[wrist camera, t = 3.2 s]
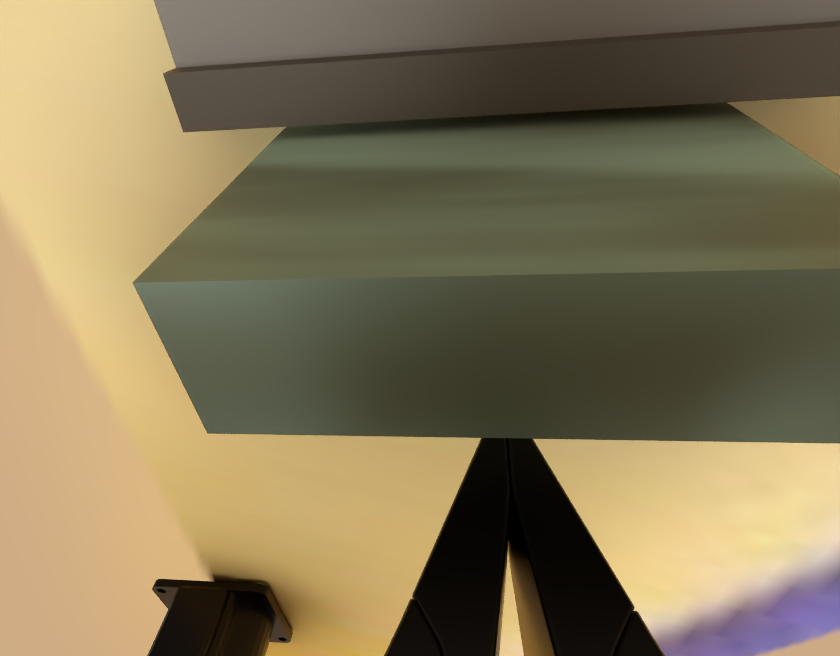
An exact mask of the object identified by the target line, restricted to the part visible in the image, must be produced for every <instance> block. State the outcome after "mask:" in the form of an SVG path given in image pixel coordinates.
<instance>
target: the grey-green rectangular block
mask: <svg viewBox="0 0 840 656" xmlns="http://www.w3.org/2000/svg"><path fill="white" fill-rule="evenodd" d="M133 284H134V286H135V288H136V290H137V292H138V294H139V296H140V298H141V300H142V302H143V304H144V306H145V308H146V310H147V312H148V314H149V316H150V319H151V321H152V323H153V325H154V327H155V329H156V331H157V333H158V335H159V337H160V339H161V341H162V343H163V345H164V347H165V349H166V351H167V353H168V355H169V357H170V359H171V361H172V363H173V365H174V367H175V369H176V371H177V373H178V375H179V377H180V379H181V381H182V383H183V385H184V387H185V389H186V391H187V393H188V395H189V397H190V399H191V401H192V403H193V405H194V407H195V409H196V411H197V413H198V415H199V417H200V419H201V421H202V423H203V425H204V427H205V429H206V431H207V433H213V434H277V435H341V436H404V437H468V438H531V439H595V440H658V441H722V442H786V443H840V176H838V175H837V174H835V173H834V172H832V171H830V170H829V169H827V168H826V167H824V166H823V165H821V164H820V163H818V162H817V161H815V160H814V159H812V158H811V157H809V156H808V155H806V154H804V153H803V152H801V151H800V150H798V149H797V148H795V147H794V146H792V145H791V144H789V143H788V142H786V141H785V140H783V139H782V138H780V137H778V136H777V135H775V134H774V133H772V132H771V131H769V130H768V129H766V128H765V127H763V126H762V125H760V124H759V123H757V122H756V121H754V120H752V119H751V118H749V117H748V116H746V115H745V114H743V113H742V112H740V111H739V110H737V109H736V108H734V107H733V106H731V105H730V104H728V103H726V102H720V103H702V104H684V105H666V106H648V107H630V108H612V109H594V110H576V111H558V112H540V113H522V114H504V115H486V116H468V117H450V118H432V119H414V120H395V121H377V122H359V123H341V124H323V125H305V126H287V127H286V128H285V129H284V130H283V131H282V132H281V133H280V134H279V135H278V136H277V137H276V138H275V139H274V140H273V141H272V142H271V143H270V144H269V145H268V146H267V147H266V148H265V149H264V150H263V151H262V152H261V153H260V154H259V155H258V156H257V157H256V158H255V159H254V160H253V161H252V162H251V163H250V164H249V165H248V166H247V167H246V168H245V169H244V170H243V171H242V172H241V173H240V174H239V175H238V177H237V178H236V179H235V180H234V181H233V182H232V183H231V184H230V185H229V186H228V187H227V188H226V189H225V190H224V191H223V192H222V193H221V194H220V195H219V196H218V197H217V198H216V199H215V200H214V201H213V202H212V203H211V204H210V205H209V206H208V207H207V208H206V209H205V210H204V211H203V212H202V213H201V214H200V215H199V216H198V217H197V218H196V219H195V220H194V221H193V222H192V223H191V224H190V225H189V226H188V227H187V228H186V229H185V230H184V231H183V232H182V233H181V234H180V235H179V236H178V237H177V238H176V239H175V240H174V241H173V242H172V243H171V244H170V245H169V246H168V247H167V248H166V249H165V250H164V251H163V252H162V254H161V255H160V256H159V257H158V258H157V259H156V260H155V261H154V262H153V263H152V264H151V265H150V266H149V267H148V268H147V269H146V270H145V271H144V272H143V273H142V274H141V275H140V276H139V277H138V278H137V279H136V280H135V281H134V282H133Z"/></svg>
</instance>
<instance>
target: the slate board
mask: <svg viewBox="0 0 840 656" xmlns="http://www.w3.org/2000/svg"><path fill="white" fill-rule="evenodd" d="M154 2H155V5H156V8H157V11H158V14H159V17H160V20H161V23H162V26H163V29H164V32H165V35H166V38H167V41H168V44H169V47H170V50H171V53H172V56H173V59H174V62H175V65H176V68H175V69H173V70H170V71H168V72H166V73H163V75H164V78H165V81H166V83H167V86H168V89H169V92H170V95H171V98H172V101H173V103H174V106H175V109H176V112H177V115H178V118H179V121H180V123H181V126H182V129H183V132H195V131H213V130H231V129H250V128H268V127H286V126H304V125H322V124H340V123H358V122H376V121H394V120H412V119H430V118H448V117H466V116H484V115H502V114H520V113H538V112H557V111H575V110H593V109H611V108H629V107H647V106H665V105H683V104H701V103H719V102H737V101H755V100H773V99H791V98H809V97H827V96H840V0H154Z"/></svg>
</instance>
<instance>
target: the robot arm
mask: <svg viewBox="0 0 840 656" xmlns="http://www.w3.org/2000/svg"><path fill="white" fill-rule="evenodd" d="M507 552H509V560H510V568H511V574H512V581H513V587H514V593H515V600H516V606H517V613H518V619H519V625H520V632H521V638H522V645H523V651H524V656H665V655H664V653H663V652H662V650H661V648H660V647H659V645H658V644H657V642H656V641H655V639H654V638H653V636H652V634H651V633H650V631H649V629H648V628H647V626H646V624H645V623H644V621H643V619H642V618H641V616H640V615H639V613H638V612H637V611H633V610H634V605H633V603H632V602H631V600H630V598H629V597H628V595H627V594H626V592H625V590H624V589H623V587H622V585H621V584H620V582H619V580H618V579H617V577H616V575H615V574H614V572H613V570H612V569H611V567H610V565H609V564H608V562H607V561H606V559H605V557H604V556H603V554H602V552H601V551H600V549H599V547H598V546H597V544H596V542H595V541H594V539H593V537H592V536H591V534H590V532H589V531H588V529H587V527H586V526H585V524H584V523H583V521H582V519H581V518H580V516H579V514H578V513H577V511H576V509H575V508H574V506H573V504H572V503H571V501H570V499H569V498H568V496H567V494H566V493H565V491H564V490H563V488H562V486H561V485H560V483H559V481H558V480H557V478H556V476H555V475H554V473H553V471H552V470H551V468H550V466H549V465H548V463H547V461H546V460H545V458H544V457H543V455H542V453H541V452H540V450H539V448H538V447H537V445H536V443H535V442H534V440H533V439H531V438H481V440H480V442H479V444H478V447H477V449H476V451H475V454H474V456H473V458H472V460H471V463H470V465H469V467H468V469H467V472H466V474H465V476H464V479H463V481H462V483H461V485H460V488H459V490H458V492H457V495H456V497H455V499H454V501H453V504H452V506H451V508H450V510H449V513H448V515H447V517H446V520H445V522H444V524H443V526H442V529H441V531H440V533H439V536H438V538H437V540H436V542H435V545H434V547H433V549H432V551H431V554H430V556H429V558H428V561H427V563H426V565H425V567H424V570H423V572H422V574H421V577H420V579H419V581H418V583H417V586H416V588H415V590H414V592H413V595H412V596H413V599H411V600H410V601H409V603H408V605H407V608H406V610H405V612H404V615H403V617H402V619H401V621H400V623H399V626H398V628H397V630H396V632H395V634H394V636H393V638H392V640H391V642H390V644H389V646H388V649H387V651H386V653H385V655H384V656H499V650H500V639H501V627H502V615H503V604H504V592H505V580H506V569H507ZM152 590H153V591H154V592H155V593H156V595H157V596H158V597H159V598H160V600H161V601H162V602H163V603H164V604H165V606H166V607H167V608H168V612H167V614H166V616H165V618H164V620H163V622H162V625H161V627H160V629H159V631H158V633H157V636H156V638H155V640H154V642H153V645H152V647H151V649H150V651H149V653H148V656H265V655H266V651H267V648H268V645H269V642H282V643H288V642H290V641H291V637H292V631H291V629H290V627H289V625H288V623H287V622H286V620H285V618H284V616H283V614H282V612H281V610H280V609H279V607H278V605H277V603H276V601H275V599H274V597H273V595H272V594H271V592H270V590H269V588H268V587H266V586H264V585H261V584H249V583H229V582H210V581H190V580H170V579H158V580H156V582H155V584H154V586H153V588H152Z"/></svg>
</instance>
